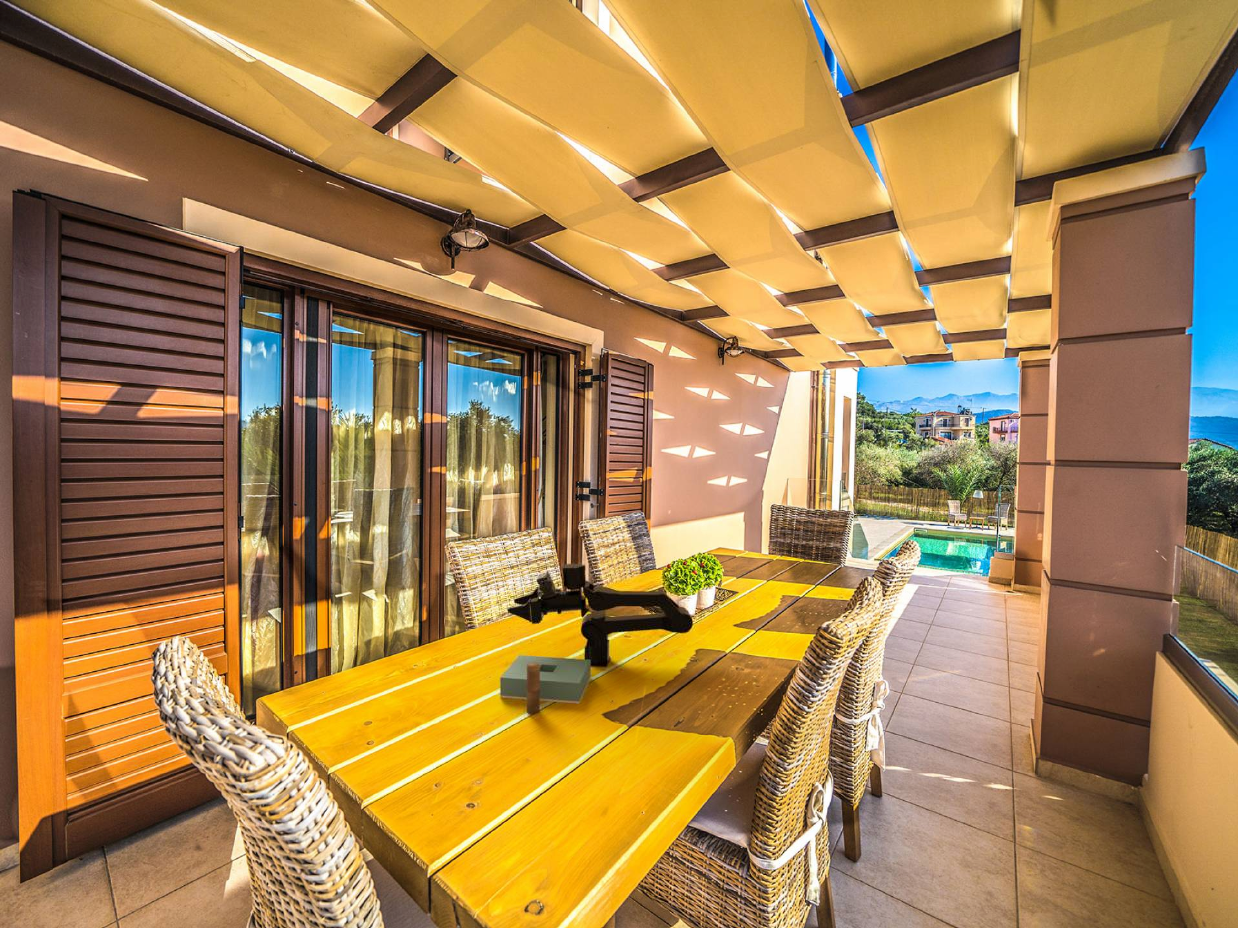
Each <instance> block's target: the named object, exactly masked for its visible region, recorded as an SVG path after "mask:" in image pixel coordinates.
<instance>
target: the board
mask: <svg viewBox="0 0 1238 928" xmlns="http://www.w3.org/2000/svg"><path fill="white" fill-rule="evenodd" d="M530 662H538V663H540V702H554V703H555V702H556V703H566V704H576V705H577V704H580V703H581V702H582V698H583V697H584V694H585V692H586V689H587V687H588V685H589V682H590V680H591V670H592V669H591V667H592V666H591V660H585V659H582V658H570V657H568V658H567V657H555V656H554V657H552V656H541V655H539V656H537V655H526V654H525V655H522V654H519V655H518V656H517V657H516V658H515V659H514V661H513V662H512V663H511V664H510V665H509V667H507V669H506V670H505V672H504V673H502V674H501V676H500V677H499V678H500V685H499V687H500V688H499V689H500V692H499V693H500V694H499V695H500V696H499V697H500V698H503V699H516V700H526V701H527V664H528V663H530Z"/></svg>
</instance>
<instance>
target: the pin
mask: <svg viewBox="0 0 1238 928" xmlns="http://www.w3.org/2000/svg"><path fill="white" fill-rule="evenodd" d="M540 702H541V701H540V663H538V662H530V663H528V664H527V700H526V713H527V714H529V715H535V714H538V713H539V712H540V711H541V710H540V708H541V707H540V706H541V705H540V704H541V703H540Z"/></svg>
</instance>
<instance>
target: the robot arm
mask: <svg viewBox="0 0 1238 928" xmlns="http://www.w3.org/2000/svg"><path fill="white" fill-rule="evenodd" d="M561 571H562V586H563V587H564V588H566V589H567V590H564V591H563V590H562V589H561V588H556V586H555V584H554V581H553V579H552V576H551V575H550V573H549V572H548V571H547V572H545V573H542V574H540V575H538V576H537V578H536V583H537V584H538V585H539V586H537V587H536V588H535V589H534V590H533V591H532V592H531V593H528V594H526V595H522V596H519V597H517V598H514V599H513V601H514V602H513V603H514V604H517V605H516V606H512V607H511V606H510V607H508V608H507V609H506V610H507V613H508V614H511V615H514V616H517V617H518V618H521V619H524V620H525V621H528V622H529V623H531V625H536V624H540V623H541V621H543V618H544V616H547V615H548V614H549V613H551V614H552V613H557V615H561V614H562V612H571V611H572V612H573V611H574V612H575V611H580V616H581V618H583V619H582V622H581V625H580V626H581V627H580V633H581V635H582V637H583V638H584V639H586V640H587V641H586V644H585V645H584V654H583V655H584V659H585V660H591V667H600V668H601V667H602V668H607V667H608V666H609V664H610V663H609V662H610V660H611V656H610V639H609V636H610V635H612V634H615V633H628V632H629V633H631V632H643V631H644V632H645V631H655V630H656V631H657V630H662V631H666V632H669V633H675V634H676V633H677V634H686V633H689V632H690V631H691V629H692V628H693V625H694V621H693V618H692V616H691V614H690V612H689V610H688V609H687V608H686V607H684V606H679V604H677V603H676V601H675V600H673V599H672V598H671V597H670V596H669V595H668V594H667V592H665V591H664V590H656V591H655V590H653V591H652V590H651V591H650V590H649V591H647V590H646V591H645V590H632V591H631V590H617V589H613V588H611V587H607V586H600V585H594V584H593V583H591V582H590V581H588V580H586V579H587V577H586V565H585V564H580V563H567V564H564V565H562V566H561ZM587 605H588V606H587ZM619 607H633V608H635V607H636V608H638V607H641V608H644V607H646V608H647V607H649V608H651V607H654V608H657V607H658V608H660V610H661V611H662V612H660V613H659V612H658V613H649V614H648V613H646V614H634V615H631V614H630V615H621V616H620V615H618V616H612V615H611V616H610V615H607V614H606V611H607V610H611V609H614V608H619ZM590 609H591V612H590Z"/></svg>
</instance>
